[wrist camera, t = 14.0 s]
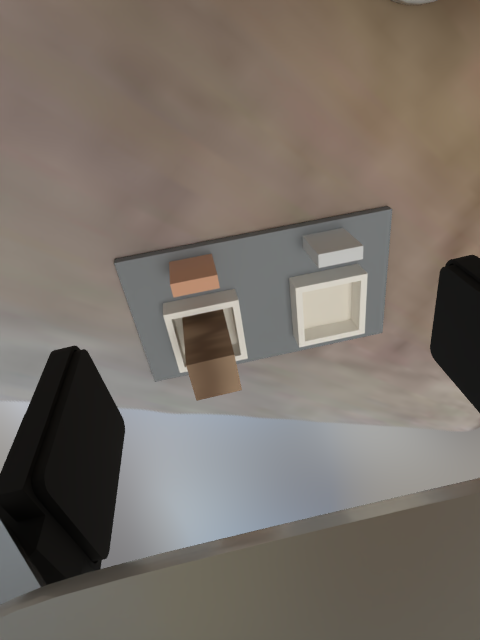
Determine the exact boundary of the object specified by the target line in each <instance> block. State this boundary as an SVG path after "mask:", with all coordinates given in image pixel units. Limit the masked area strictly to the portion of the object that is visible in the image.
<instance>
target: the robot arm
mask: <svg viewBox="0 0 480 640" xmlns="http://www.w3.org/2000/svg"><path fill="white" fill-rule="evenodd" d="M392 1H394V2H397V3H401V4H405V5H422V4H425V3H430V2H434V1H437V0H392ZM430 350H431V354H432V356H433V358H434V360H435V361H436V362H437V363H438V365H439V366H440V367H441V368H442V369H443V370H444V372H445V373H446V374H447V375H448V376H449V377H450V379H451V380H452V381H453V382H454V383H455V384H456V386H457V387H458V388H459V389H460V390H461V392H462V393H463V394H464V395H465V396H466V397H467V399H468V400H469V401H470V402H471V403H472V404H473V406H474V407H475V408H476V409H477V410H478V412H479V413H480V258H478V257H477V256H475V255H469V256H464V257H460V258H456V259H451V260H449V261H448V262H447V263H446V266H445V267H443V268H442V269H441V270H440V275H439V283H438V290H437V298H436V306H435V314H434V321H433V329H432V337H431V344H430ZM124 434H125V425H124V421H123V418H122V416H121V414H120V412H119V410H118V408H117V406H116V404H115V403H114V401H113V399H112V397H111V395H110V393H109V391H108V389H107V387H106V385H105V384H104V382H103V380H102V378H101V376H100V374H99V372H98V370H97V368H96V366H95V365H94V363H93V361H92V359H91V357H90V355H89V353H88V352H87V351H86V350H84V349H83V350H80V349H79V348H78V347H77V346H71V347H67V348H63V349H58V350H54V351H52V352H51V354H50V356H49V358H48V361H47V363H46V366H45V368H44V370H43V373H42V375H41V378H40V380H39V382H38V385H37V387H36V390H35V392H34V395H33V397H32V399H31V402H30V404H29V407H28V409H27V412H26V414H25V415H24V418H23V420H22V422H21V425H20V427H19V430H18V432H17V435H16V437H15V439H14V442H13V445H12V447H11V449H10V451H9V454H8V456H7V459H6V461H5V463H4V466H3V469H2V471H1V473H0V640H480V478H478V479H473V480H469V481H465V482H460V483H456V484H452V485H447V486H443V487H439V488H434V489H430V490H425V491H421V492H417V493H413V494H408V495H404V496H400V497H396V498H391V499H387V500H383V501H379V502H375V503H370V504H366V505H362V506H357V507H353V508H349V509H345V510H340V511H336V512H332V513H328V514H324V515H319V516H315V517H311V518H307V519H302V520H298V521H294V522H290V523H285V524H282V525H277V526H273V527H269V528H265V529H261V530H257V531H253V532H248V533H244V534H240V535H236V536H232V537H228V538H223V539H219V540H215V541H211V542H207V543H203V544H198V545H195V546H190V547H186V548H182V549H178V550H174V551H170V552H165V553H162V554H157V555H154V556H150V557H146V558H142V559H138V560H134V561H130V562H126V563H123V564H119V565H115V566H111V567H107V568H104V569H100V567H101V561H102V560H103V559H106V558H107V556H108V554H109V549H110V541H111V533H112V526H113V518H114V511H115V503H116V495H117V487H118V480H119V472H120V465H121V457H122V449H123V441H124Z"/></svg>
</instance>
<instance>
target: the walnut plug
mask: <svg viewBox="0 0 480 640" xmlns="http://www.w3.org/2000/svg"><path fill="white" fill-rule="evenodd" d="M182 321H183V334H184V346H185V358H186V367H187V370H188V373H189V377H190V380H191V383H192V387H193V390H194V393H195V397H196V400H201V399H206V398H210V397H214V396H219V395H223V394H227V393H231V392H236V391H240V390H242V389H241V384H240V379H239V374H238V369H237V365H236V360H235V355H234V351H233V347H232V343H231V339H230V335H229V331H228V327H227V323H226V319H225V316H224V312H223V309H221V310H216V311H211V312H206V313H201V314H196V315H192V316H187V317H182Z"/></svg>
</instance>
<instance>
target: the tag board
mask: <svg viewBox="0 0 480 640" xmlns="http://www.w3.org/2000/svg"><path fill="white" fill-rule="evenodd" d="M391 218H392V209H391V208H390V207H388V206H386V207H381V208H376V209H371V210H365V211H360V212H355V213H350V214H345V215H340V216H335V217H329V218H324V219H319V220H314V221H309V222H304V223H299V224H293V225H288V226H283V227H278V228H273V229H268V230H262V231H257V232H252V233H247V234H242V235H237V236H232V237H226V238H221V239H216V240H211V241H206V242H201V243H196V244H190V245H185V246H180V247H175V248H170V249H165V250H159V251H154V252H149V253H144V254H139V255H134V256H129V257H123V258H118V259H115V261H114V265H115V267H116V270H117V273H118V276H119V279H120V282H121V285H122V288H123V291H124V294H125V296H126V299H127V302H128V305H129V308H130V311H131V314H132V317H133V320H134V322H135V325H136V328H137V331H138V334H139V337H140V340H141V343H142V346H143V349H144V351H145V354H146V357H147V360H148V363H149V366H150V369H151V372H152V375H153V377H154V380H155V382H156V381H161V380H166V379H170V378H175V377H180V376H184V375H189V373H188V370H187V367H186V358H185V346H184V334H183V321H182V317H187V316H192V315H196V314H201V313H206V312H211V311H216V310H221V309H223V312H224V316H225V319H226V323H227V327H228V331H229V335H230V339H231V343H232V347H233V351H234V355H235V360H236V364H240V363H245V362H249V361H254V360H258V359H263V358H268V357H272V356H277V355H282V354H286V353H291V352H296V351H300V350H305V349H310V348H314V347H319V346H323V345H328V344H333V343H337V342H342V341H347V340H351V339H356V338H361V337H365V336H370V335H374V334H379V333H382V330H383V318H384V305H385V293H386V280H387V268H388V255H389V243H390V230H391ZM339 228H344V229H345V230H346V231H347V232H349V233H350V234H351V235H352V236H353V237H354V238H355V239H357V240H358V241H359V242H360V243H361V244H362V245H363V259H361V260H356V261H351V262H347V263H342V264H337V265H332V266H327V267H322V268H318V267H317V265H316V264H315V263H314V261H313V260H312V259H311V258H310V256H309V255H308V254H307V253H306V251H305V250H304V249H303V237H302V236H304V235H309V234H314V233H319V232H324V231H329V230H334V229H339ZM207 254H212V257H213V260H214V264H215V268H216V271H217V275H218V281H219V286H220V288H218V289H213V290H208V291H203V292H198V293H193V294H188V295H183V296H179V297H173V294H172V290H171V286H170V271H169V262H171V261H176V260H182V259H187V258H192V257H197V256H202V255H207Z"/></svg>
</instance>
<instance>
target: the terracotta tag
mask: <svg viewBox="0 0 480 640" xmlns="http://www.w3.org/2000/svg"><path fill="white" fill-rule="evenodd" d="M169 271H170V286H171V290H172V294H173V297H179V296H183V295H188V294H193V293H198V292H203V291H208V290H213V289H218V288H220V286H219V281H218V275H217V271H216V268H215V264H214V260H213V257H212V254H207V255H202V256H197V257H192V258H187V259H182V260H176V261H171V262H169Z"/></svg>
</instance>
